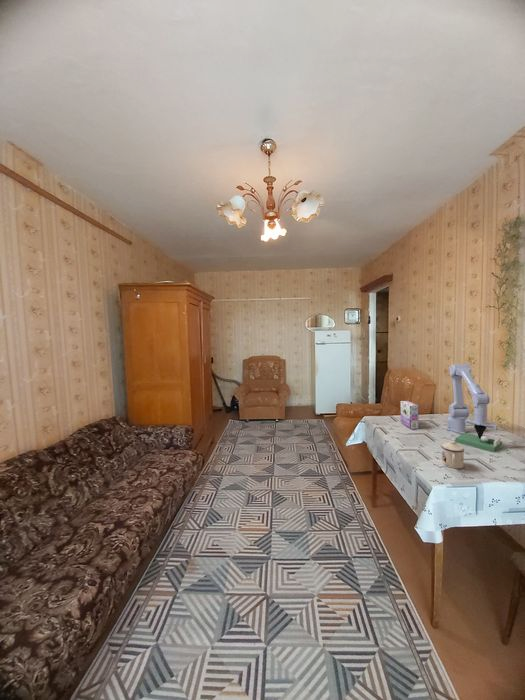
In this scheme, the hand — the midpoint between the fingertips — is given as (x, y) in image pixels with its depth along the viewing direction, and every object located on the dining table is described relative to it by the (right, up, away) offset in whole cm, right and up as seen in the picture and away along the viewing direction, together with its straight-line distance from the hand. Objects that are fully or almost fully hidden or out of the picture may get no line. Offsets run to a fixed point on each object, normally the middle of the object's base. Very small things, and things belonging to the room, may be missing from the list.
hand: (480, 438), depth 157 cm
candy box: (-22, -3, +35) cm, 41 cm away
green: (0, -4, +1) cm, 4 cm away
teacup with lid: (-32, -6, -23) cm, 40 cm away
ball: (+1, 0, -1) cm, 2 cm away
